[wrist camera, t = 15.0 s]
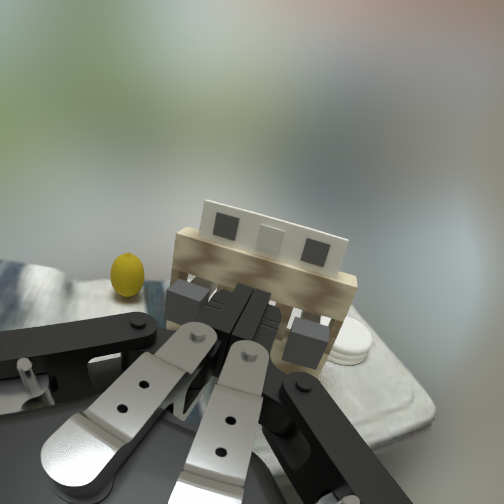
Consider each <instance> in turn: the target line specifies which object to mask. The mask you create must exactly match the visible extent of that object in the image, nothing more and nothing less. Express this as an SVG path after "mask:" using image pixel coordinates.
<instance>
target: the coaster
mask: <svg viewBox="0 0 504 504" xmlns="http://www.w3.org/2000/svg"><path fill="white" fill-rule="evenodd" d="M330 320H331V318H328V317H325V316H321V320H320V324H322V325H325V326H328V325H329V322H330ZM372 342H373V339H372V335H371V333H370V332H369V330H368V329H367V328H366V327H365V326H364V325H363V324H361V323H360V322H358V321H357V320H355V319H353V318H350V317H348V316H346V317H345V320H344V322H343V324H342V327H341V329H340V331H339V334H338V336H337V338H336V340H335V343H334V345H333V347H332V349H331V351H330V354H329V356H328V358H327V360H329V361H331V362H334V363H337V364H341V365H355V364H358V363H360V362H362V361H363V360H364V359H365V358H366V356H367V353H368V352H369V349H370V348H371V346H372Z"/></svg>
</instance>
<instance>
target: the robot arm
mask: <svg viewBox="0 0 504 504" xmlns="http://www.w3.org/2000/svg"><path fill="white" fill-rule="evenodd" d="M254 289H255V290H254ZM271 294H272V293H269V292H266V291H263V290H260V289H257V288H254V287H251V286H248V285H245V284H242V283H238V284H237V286H236V287H235V289H234V290H233V292H231V291H228V290H225V289H223V290H220V291H218V292H216V293H215V294H214V295H213V296H212V298H211V299H210V300H209V302H208V303H207V305H206V306H205V307H204V309H203V310H202V311H201V313H200V314H199V315H198V317H197V318H196V319H195V321H194V322H189V323H186V324H184V325H182V326H181V327H180V328H179V329H178V330H167V329H161V328H157V322H156V320H155V319H154V318H153V317H152V316H150V315H148V314H146V313H142V312H130V313H124V314H118V315H112V316H106V317H100V318H93V319H87V320H81V321H74V322H67V323H61V324H54V325H47V326H40V327H32V328H25V329H17V330H10V331H2V332H0V504H287V503H286V501H285V499H284V497H283V495H282V493H281V491H280V489H279V487H278V486H277V484H276V482H275V480H274V478H273V476H272V474H271V472H270V470H269V469H268V467H267V466H266V464H265V463H264V462H263V461H262V460H261V458H259V457H258V456H257V455H256V454H255V453H254V452H252V448H253V444H254V439H255V434H256V430H257V425H258V423H259V424H261V425H262V432H263V434H264V436H265V438H266V440H267V441H268V443H269V445H270V447H271V449H272V450H273V452H274V454H275V456H276V457H277V459H278V461H279V463H280V464H281V466H282V468H283V470H284V471H285V473H286V475H287V477H288V478H289V480H290V482H291V483H292V485H293V487H294V488H295V490H296V492H297V493H298V495H299V496H300V498H301V500H302V501H303V503H304V504H413V503H412V502H411V500H410V499H409V498H408V497H407V495H406V494H405V493H404V492H403V490H402V489H401V488H400V487H399V485H398V484H397V483H396V481H395V480H394V479H393V478H392V476H391V475H390V474H389V472H388V471H387V470H386V469H385V467H384V466H383V465H382V464H381V462H380V461H379V460H378V458H377V457H376V456H375V454H374V453H373V452H372V450H371V449H370V448H369V446H368V445H367V444H366V443H365V441H364V440H363V439H362V437H361V436H360V435H359V433H358V432H357V431H356V429H355V428H354V427H353V425H352V424H351V423H350V421H349V420H348V419H347V417H346V416H345V415H344V413H343V412H342V411H341V409H340V408H339V407H338V405H337V404H336V403H335V401H334V400H333V399H332V397H331V396H330V395H329V393H328V392H327V391H326V389H325V388H324V387H323V385H322V384H321V383H320V381H319V380H318V379H317V378H316V377H314V376H313V375H311V374H309V373H306V372H300V371H296V372H291V373H289V374H288V375H287V374H286V373H284V372H282V371H281V370H279V369H278V368H277V367H276V366H275V365H274V364H273V362H272V360H271V357H270V353H271V349H272V346H273V343H274V340H275V337H276V334H277V330H278V327H279V324H280V321H281V318H282V314H281V311H280V308H278V307H275V306H272V305H269V301H270V297H271ZM120 352H121V357H118V358H113V359H108V360H103V361H98V362H93V363H88V362H89V361H90V360H91V359H92V358H95V357H100V356H105V355H110V354H115V353H120ZM221 371H222V372H221ZM220 373H221V375H220ZM219 375H220V377H219ZM211 376H215V377H219V380H218V383H216V384H215V387H214V389H213V392H212V395H211V397H210V400H209V402H208V405H207V408H206V410H205V413H204V416H203V418H202V421H201V423H200V424H195V423H189V422H185V419H186V418H187V416H188V415H189V413H190V412H191V410H192V409H193V407H194V406H195V404H196V403H197V401H198V400H199V398H200V397H201V395H202V394H203V392H204V391H205V389H206V385H207V383H208V382H209V380H210V378H211Z"/></svg>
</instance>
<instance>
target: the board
mask: <svg viewBox="0 0 504 504" xmlns="http://www.w3.org/2000/svg"><path fill="white" fill-rule="evenodd" d="M198 236H199V230H198V229H194V228H191V227H186V228H184V229H182V230H181V231H179V232H177V233H176V239H175V247H174V255H173V264H172V273H171V282H170V286H172V285H173V284H174V283H175V282H176V281H177V280H178V279H181V280H184V281H187V277H188V274H192V275H195V276H197V277H200V278H203V279H206V280H209V281H212V282H215V283H218V286H217V292H218V291H220V290H223V289H225V290H228V291H231V292H233V290H234V289H235V287H236V286H237V284H238V283H242V284H245V285H248V286H251V287H254V288H257V289H260V290H263V291H266V292H269V293H272V294H271V297H270V300H272V301H275V302H276V305H275V307H278V308H280V311H281V314H282V318H281V321H280V324H279V327H278V330H277V334H276V337H275V340H274V343H273V346H272V349H271V353H270V357H271V360H272V362H273V364H274V365H275V366H276V367H277V368H278V369H279V370H281V371H282V372H284V373H286V374H287V375H288V374H289V373H291V372H296V371H300V372H306V373H309V374H311V375H313V376H314V377H316V378H317V379H318V377H319V375H320V373H321V371H322V369H323V366H324V364H325V362H326V360H327V358H328V356H329V354H330V351H331V349H332V347H333V345H334V343H335V340H336V338H337V336H338V334H339V331H340V329H341V327H342V324H343V322H344V320H345V317H346V315H347V313H348V310H349V308H350V305H351V303H352V300H353V298H354V295H355V293H356V290H357V280H356V276H353V275H349V274H346V273H343V272H339V271H338V274H337V277H336V278H332V277H329V276H326V275H322V274H319V273H316V272H312V271H309V270H306V269H302V268H299V267H296V266H292V265H289V264H285V263H282V262H279V261H275V260H272V259H269V258H265V257H262V256H259V255H255V254H252V253H249V252H245V251H242V250H239V249H235V248H232V247H229V246H225V245H222V244H219V243H215V242H212V241H209V240H205V239H202V238H199V237H198ZM254 290H255V289H254ZM293 307H295V308H298V309H301V310H305V311H308V312H311V313H315V314H318V315H321V316H325V317H328V318H331V320H330V322H329V325H328V327H329V341H328V344H327V347H326V349H325V351H324V353H323V356H322V358H321V360H320V362H319V364H318V366H317V369H316V370H315V369H311V368H308V367H304V366H300V365H297V364H294V363H290V362H287V361H283V360H281V359H282V355H283V352H284V348H285V344H286V342H287V339H288V336H289V333H290V330H291V329H288V328H287V325H288V322H289V319H290V316H291V313H292V310H293ZM180 327H181V325H179V324H176V323H174V322H171V321H169V320H167V327H166V329H167V330H178V329H179V328H180Z"/></svg>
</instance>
